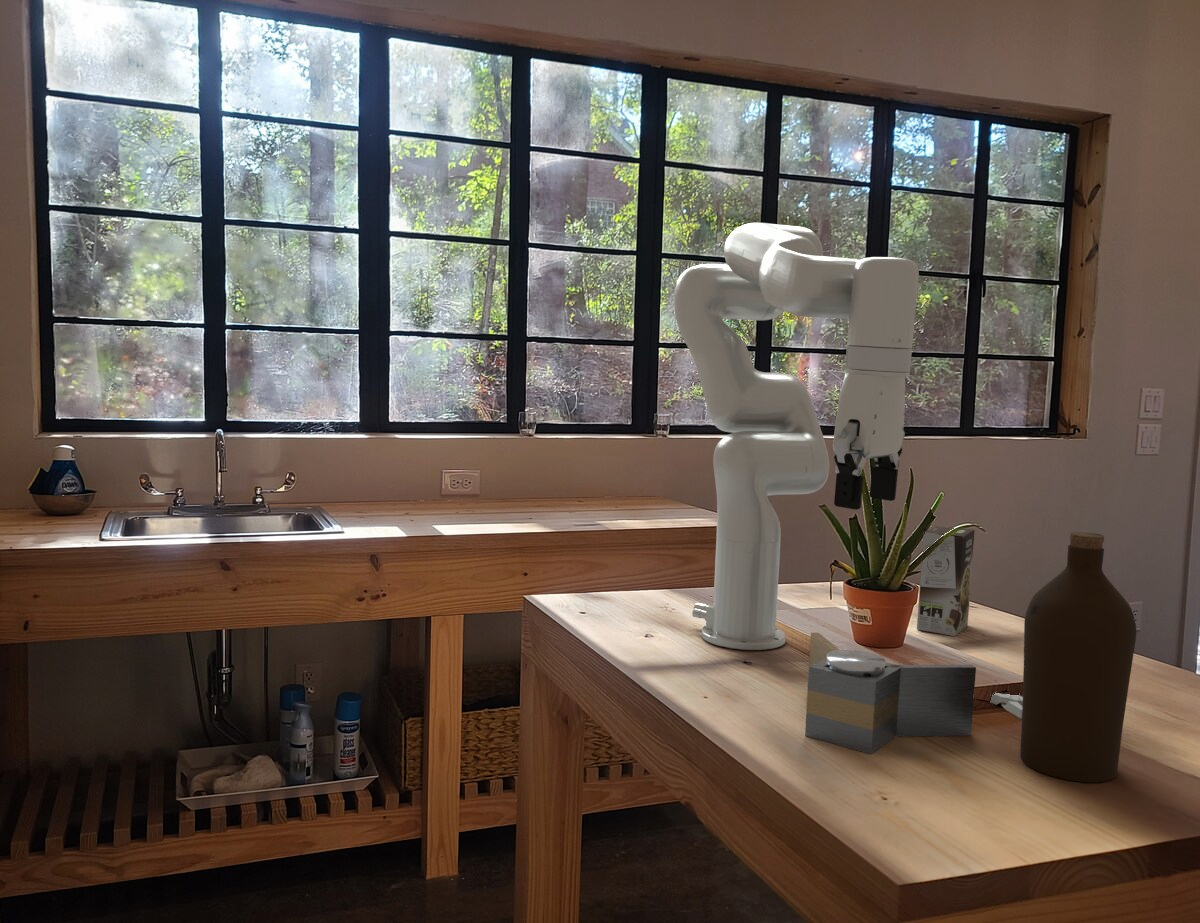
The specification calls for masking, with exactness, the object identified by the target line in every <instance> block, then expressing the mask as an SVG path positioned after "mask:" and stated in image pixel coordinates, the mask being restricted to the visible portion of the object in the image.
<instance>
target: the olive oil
mask: <svg viewBox="0 0 1200 923" xmlns="http://www.w3.org/2000/svg"><path fill="white" fill-rule="evenodd" d="M1069 539H1070V543H1069V545H1068V546H1067V564H1066V566H1065V568H1064V569H1063V570H1062V571H1061V572H1060V573H1058V574H1057V575H1056V576H1055V577H1053V579H1052V580H1050V581H1048V582H1047V583H1046V584H1045V585H1044V586H1042V587H1041V588H1040V589H1039V590H1038V591H1037V592H1036V593H1035V594H1034V595H1033V596H1032V598H1031V599H1030V601H1029V604H1028V607H1027V609H1026V612H1025V616H1024V627H1023V628H1024V629H1023V632H1024V633H1023V636H1024V637H1023V673H1022V674H1023V675H1022V677H1023V678H1022V681H1023V682H1022V683H1023V684H1022V697H1023V707H1022V719H1021V732H1020V733H1021V734H1020V750H1019V751H1020V755H1019V756H1020V759H1021V760H1022V762H1023V763H1025V765H1027V766H1028V767H1029V768H1031V769H1033V770H1035V771H1037V772H1038V773H1042V774H1044V775H1047V776H1050V777H1053V778H1058V779H1061V780H1066V781H1073V782H1078V783H1103V782H1108V781H1111V780H1113V779H1114V778H1116V777H1117V774H1118V769H1119V768H1118V767H1119V760H1120V753H1121V752H1120V751H1121V744H1122V735H1123V730H1124V729H1123V728H1124V721H1125V720H1124V719H1125V713H1126V708H1127V701H1128V700H1127V699H1128V694H1129V686H1130V679H1131V673H1132V666H1133V660H1134V655H1135V648H1136V640H1137V625H1136V619H1135V616H1134V612H1133V609H1132V607H1131V606H1130V603H1128V601H1127V599H1126V598H1124V596H1123V595H1122V594H1121V592H1119V590H1118V589H1117V588H1116V587H1115V585H1114V584H1113V583H1112V582H1111V581H1110V580H1109V579H1108V577H1106V575H1105V574H1104V571H1103V564H1104V563H1103V562H1104V553H1105V548H1103V543H1104V541H1105V540H1104V539H1105V536H1104V535H1102V534H1100V533H1096V532H1095V533H1094V532H1089V531H1072V532H1070V534H1069Z"/></svg>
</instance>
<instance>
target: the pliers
mask: <svg viewBox="0 0 1200 923" xmlns="http://www.w3.org/2000/svg"><path fill="white" fill-rule="evenodd" d="M994 693H995V694H994ZM994 693H993V694H994V695H993V694H992V697H991V701H990V703H989V704H993V705H996V706H997V705H998V704H1000V706H1001V707H1002V708H1003V709H1004V710H1006V711H1007V712H1008V713H1010V714H1012V715H1013V716H1015V717H1017V718H1018V719H1020V720H1022V707H1023V695H1020V694H1019V695H1010V694H1007V693H1002V692H1001V693H996V692H994Z"/></svg>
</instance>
